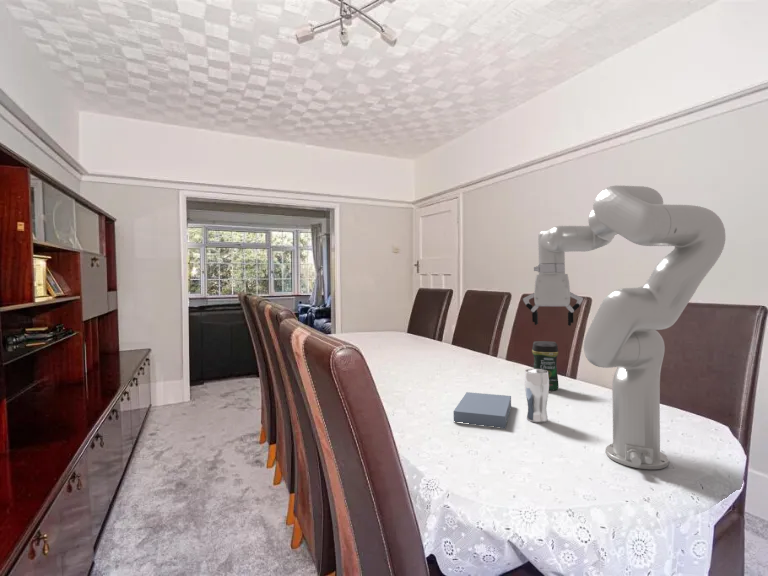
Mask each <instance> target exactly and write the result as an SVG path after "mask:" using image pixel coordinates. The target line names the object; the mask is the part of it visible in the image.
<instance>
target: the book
mask: <svg viewBox="0 0 768 576" xmlns="http://www.w3.org/2000/svg"><path fill="white" fill-rule="evenodd" d="M510 408H511V409H512V396H511V395H504V394H493V393H479V392H468V391H467V392H465V394H464V395H463V397H462V398H461V399H460V401H459V402H458V404H457V405H456V406H455V408H454V409H453V422H454V421H455V422H463V423H469V424H468V425H470V424H476V425H475V426H479V425H484V426H483V427H488V426H494V427H493V428H497V427H500V428H499V429H506V428H507V424H506V423H507V422H508V419H509V416H510V412H511V409H510Z"/></svg>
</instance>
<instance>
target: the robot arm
mask: <svg viewBox="0 0 768 576" xmlns="http://www.w3.org/2000/svg"><path fill="white" fill-rule="evenodd" d="M593 201H594V202H593V204H592V210H591V211H590V213H589V214H588V221H587V222H588V225H558V226H553V227H552V228H550V229H546V230H542V231H540V232H539V233H538V240H537V243H538V245H537V247H538V248H537V251H538V265H537V266H534V267H533V271H534V272H537V273H538V274H535V280H534V292H533V293H531V294H528V295H527V296H525V297H523V298H522V301H523V303H524V304H525V307H526V308H527V309H528V310H530V312H532V313H531V315H532V319H531V320H532V323H534V326H537V325H538V324H539V318H538V317H539V314H538V313H539V312H538V309H539V308H540V307H565V308H566V309H567V310H568V312H567V325H568V326H569V327H571V325H572V324H574V312H575V311H576V310H578V308H580V306H581V305H582V303H583V300H584V297H581V296H580V295H578V294H576V293H573V292H571V289H570V279H569V274H568V273H566V257H565V256H566V255H565V254H566V252H567V253H569V252H572V253H573V252H590V251H594V250H597V249H600V248H603V247H605V246H607V245H609V244H610V243H611V242H612V241H613V239H614V238H615V236H616V235H618V236H621V237H623V238H624V239H625V240H627V241H629V242H631V243H632V244H636V245H639V246H643V247H644V246H645V247H674V249H672V251H670V253H668V254H667V255H666V256H664V257H662V259H661V260H660V261H659V262H658V263H657V264H656V265H655V267H654V268H653V270H652V272H651V274H650V276H649V277H648V279H647V280H646V282H645V283H644V284H643V285H641V286H640V287H625V288H623V287H622V288H618V289H615V290H612V292H610V293H609V294H608V295H607V296H605V298H603V301H601V304H600V306H599V308H598V309H597V311H596V313H595V316H594V317H593V320H592V322H591V323H590V326H589V328H588V330H587V332H586V334H585V336H584V340H583V352H584V355H585V357H586V359H587V361H588V362H589V363H590V364H592V365H593V366H595V367H597V368H605V369H609V368H611V369H612V368H616V370H615V371H614V375H613V377H612V384H611V385H612V388H611V389H612V392H611V393H612V443H611V444H608V445H606V447H605V454H606V456H608V458H609V459H611V460H612V461H614V462H616V463H619V464H621V465H623V466H627V467H630V468H634V469H635V468H636V469H640V470H661V469H665V468H666V467H668V466H669V457H668V456H667V455H666V454H665V453H663V452H661V415H660V414H661V408H660V407H661V406H660V404H661V403H660V402H661V400H660V399H661V398H660V397H661V395H660V394H661V389H660V387H661V385H660V384H661V372H662V365H663V361H664V356H665V350H666V347H665V345H666V344H665V341H664V338H663V336H662V335H661V334H660V332H659V331H660V330H666V329H669V328H671V327H672V326H674V324H675V323H676V322H677V321H678V319H679V318H680V317H681V315H682V313H684V312H683V311H684V310H685V309H686V307H687V305H688V304H689V302H690V301H691V299H692V298H693V296H694V295H695V293H696V291H697V290H698V288H699V286H700V284H701V283H702V281H704V279H705V277H706V276H707V275H708V273H710V271H711V270H712V268H714V266H715V264H716V263H717V262H718V260H719V258H720V257H721V255H722V253H723V250H724V249H725V248H724V247H725V244H726V228H725V225H724V223H723V221H722V219H721V218H720V216H719V215H718V214H717V213H716V212H714V211H713V210H711V209H709V208H706V207H704V206H698V205H692V204H665V203H664V200H663V196H662V195H661V193H660V192H659V191H658V190H656V189H655V188H652V187H648V186H643V185H618V184H617V185H611V186H608V187H605V188H604V189H603V190H601V191H600V192H599V193H598V194H597V195H596V197H595V199H594V200H593ZM531 299H534V305H532V304H531V303H530V300H531ZM571 299H575V300H576V303H575V304H574V305H573V306H572V305H571V304H570V303H571Z"/></svg>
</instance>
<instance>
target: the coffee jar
mask: <svg viewBox="0 0 768 576" xmlns="http://www.w3.org/2000/svg"><path fill="white" fill-rule="evenodd" d="M558 347H559V345H558V343H556V341H549V340H548V341H546V340H543V341H542V340H541V341H539V340H538V341H535V340H534V341H533V343H532V349H531V353H532V355H533V369H543V370H547V371H548V377H549V391H556V390H558V389H559V377H558V367H557V366H558V365H557V361H558V360H557V358H558V355H559V349H558Z"/></svg>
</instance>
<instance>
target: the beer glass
mask: <svg viewBox="0 0 768 576" xmlns="http://www.w3.org/2000/svg"><path fill="white" fill-rule="evenodd" d="M549 392H550V390H549V377H548V371H547V370H543V369H534V368H527V369H525V371H524V393H525V396H526V397H525V398H526V402H527V415H526V420H527V421H528V422H531V423H534V424H545V423H546V424H547V423H548V421H549V419H548V412H547V407H548V406H547V405H548V398H549Z"/></svg>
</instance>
